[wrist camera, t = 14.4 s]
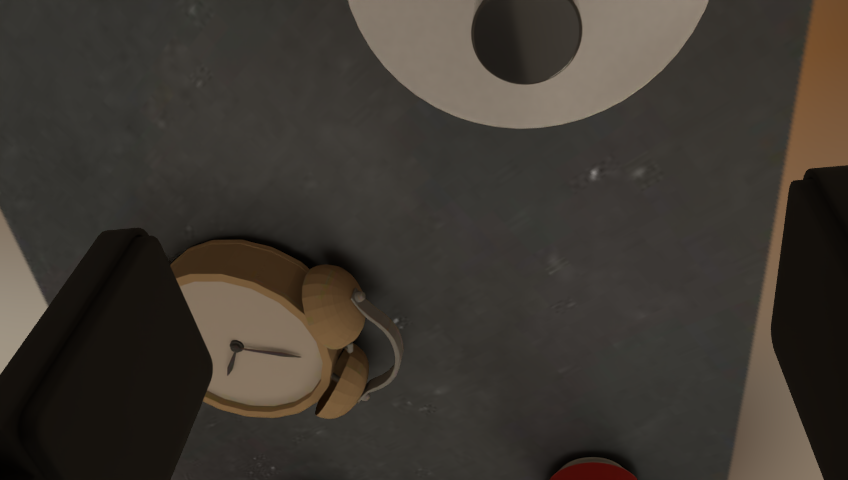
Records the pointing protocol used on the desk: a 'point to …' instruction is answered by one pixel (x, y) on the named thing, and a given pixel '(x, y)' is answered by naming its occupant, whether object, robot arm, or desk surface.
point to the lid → (525, 53)
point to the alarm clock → (280, 330)
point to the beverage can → (593, 470)
